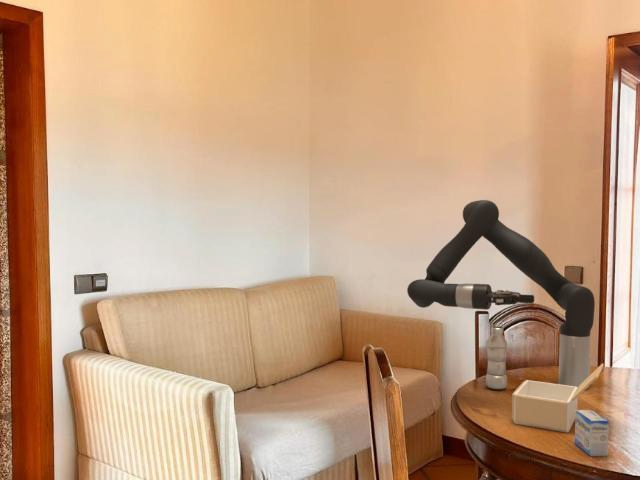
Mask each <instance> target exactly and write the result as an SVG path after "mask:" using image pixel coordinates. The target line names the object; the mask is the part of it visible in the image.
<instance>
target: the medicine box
mask: <svg viewBox="0 0 640 480" xmlns="http://www.w3.org/2000/svg"><path fill="white" fill-rule="evenodd" d="M574 423H575V424H574V426H575V427H574V444H575V446H577V447H578V448H579V449H581V450H582V451H583V452H585V454H587V455H588V456H590V457H606V456H607V457H608V451H609V429H610V428H609V425H610V424H609V420H608V419H606V418H604V417H603V416H601V415H600V414H598V413H596V412H595V411H594V410H592V409H591V410H590V409H581V410H580V409H577V411H576V418H575V420H574Z"/></svg>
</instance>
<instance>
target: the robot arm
mask: <svg viewBox="0 0 640 480" xmlns="http://www.w3.org/2000/svg"><path fill="white" fill-rule="evenodd" d="M499 217H500V210H499V207H498V206H497V203H495V202H493V201H491V200H487V199H479V200H473V201H471V202H469V203H467V204H465V206H464V207H463V210H462V218H463V221H464V225H463V227H462V228H461V229H460V230H459V231H458V233H457V234H456V235H455V236H454V237H453V238H452V239H451V240H450V241H449V242H447V244H446V245H444V246H443V247H442V248H441V249H440V250H439V252H437V254H436V255H435V256H434V258H433V259H432V260H431V262H430V263H429V264H428V265H427V268H426V270H425V272H426V277H425V279H424V278H422V279H420V278H419V279H416V280H415V279H414V280H413V281H411V282H410V283H409V284H408V285H407V291H406V292H407V295H408V297H409V298H410V299H411V301H413V303H414V304H415V305H416V306H417V307H419V308H421V309H423V308H425V309H426V308H428V307H431V305H433V304H434V303H438V304H439V305H441V306H444V307H451V308H462V309H467V310H470V309H471V310H486V311H487V310H488V311H489V310H490V309H491V306H492V304H494V305H495V306H505V305H508V306H510V305H516V304H517V305H518V304H533V303H535V295H534V294H522V293H520V292H518V291H517V292H516V291H510V290H503V289H496V290H494V291H493V290H492V286H491V285H490V284H488V283H487V284H486V283H445V282H446V280H447V279H448V278H449V277H450V276H451V274H452V273H453V271H454V270H456V268H457V266H458V264H459V263H461V261H462V260H463V258H464V257H465V256H466V254H467V253H468V252H469V251H470V250H471V249H472V248H473V247H474V246H475V244H476V243H477V242H478V241H479V240H480V239H481V238H482V237H483V239H486V240H487V241H488V242H489V243H491V244H492V245H493V246H494V247H495V248H496V249H497V251H499V252H500V253H501V255H503V256H504V257H505V258H506V259H508V261H510V262H511V264H513V266H515V267H516V268H517V269H518V270H519V271H520V272H521V273H523V274H524V276H526V277H528V278H529V279H530V280H531V281H533V282H534V283H536V284H537V285H538V286H539V287H541V288H542V289H543V290H544V291H545V292H546V293H547V294H548V295H549V296H550V297H551V299H552V300H554V302H555V303H556V304H557V305H558V306H559V307H560V309H562V310H563V311H566V312H565V321H564V322H563V323H561V324H560V325H559V349H558V351H559V352H558V356H559V357H558V382H557V384H560V385H567V386H574V387H579V385H580V384H581V383H582V382H583V381H585V380H586V379H587V378H588V377H589V376H590V375H591V356H590V355H591V353H590V352H591V330H592V328H593V326H594V319H595V318H594V317H595V306H596V305H595V304H596V303H595V296H594V294H593V292H592V290H591V289H590V288H588V287H585V286H582V285H579V284H575V283H573V282H571V281H570V280H569V279H567V278H566V277H565V276H564V275H562V274H561V273H560V272H559V271H558V270H557V269H556V267H555V266H554V265H553V263H552V261H551V259H550V258H549V257H548V255H547V254H546V253H545V252H544V251H543V250H542V249H541V248H539V247H538V246H537V245H536V244H535V243H534V242H533V241H532V240H530V239H529V238H527V237H525V236H524V235H522V234H520V233H519V232H516V231H515V230H513V229H512V228H510V227H508V226H507V225H505V224H504V223H503V222H502V221H500V220H499ZM590 386H591V385H589V386H588V387H587V388H586V389H585V390H587V389H589V388H590Z"/></svg>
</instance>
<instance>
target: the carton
mask: <svg viewBox="0 0 640 480" xmlns="http://www.w3.org/2000/svg"><path fill="white" fill-rule="evenodd" d="M577 389H578V387H574V386H567V385H560V384H558V383H551V382H543V381H537V380H536V381H535V380H530V379H529V380H528V379H527V380H523V382H521V384H520V385H519V386H518V387H517V388H516V389H515V391H513V393H512V395H511V420H512V421H513V424H515V425H516V424H517V425H521V426H527V427H534V428H538V429H545V430H550V431H557V432H562V433H569V432H570V430H571V429H572V426H573V425H574V423H575V420H576V411H577V410H578V402H579V401H578V399H579V396H578V397H577V398H576V399H575V400H574V401H572V398H573V396H574V394H575V393H576V391H577Z"/></svg>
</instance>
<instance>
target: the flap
mask: <svg viewBox="0 0 640 480" xmlns="http://www.w3.org/2000/svg"><path fill="white" fill-rule="evenodd" d="M603 368H604V363H603V362H602V363H601V364H600V365H599V366H598V367H597V368H596V369H595V370H594V371H593V372H592V373H590V376H589V377H588V378H587V379H586V380H585V381H583V382H582V383H581V384H580V385H579V387H578V389H577V391H576V393H575V394H574V396H573V398H572V401H574V400H575V399H576V398H577V397H578V398H579V396H580V395H581V394H582V393H583V392H584V391H585V390H587V389H586V388H587V387H588V386H589V385H590V386H591V385H592V384H593V383H594V382H595V381H596V380H597V379H598V378H599V376H600V374H601V371H602V369H603ZM590 386H589V387H590Z"/></svg>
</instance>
